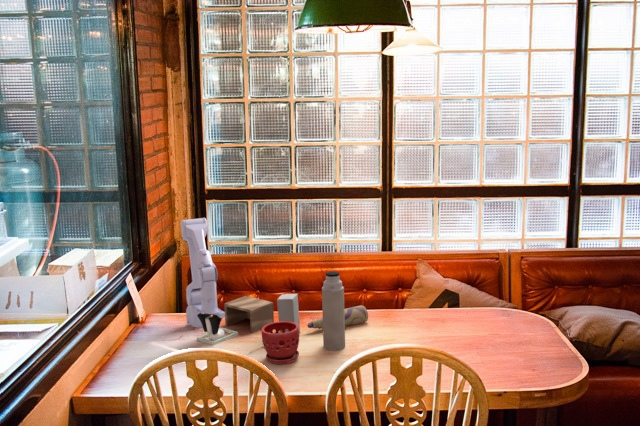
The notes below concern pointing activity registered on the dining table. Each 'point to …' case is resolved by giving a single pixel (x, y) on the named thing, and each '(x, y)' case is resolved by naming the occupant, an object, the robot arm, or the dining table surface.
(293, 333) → the plant pot
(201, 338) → the tray
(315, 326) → the decorative bottle
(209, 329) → the white rounded piece
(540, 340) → the dining table surface
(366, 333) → the dining table surface
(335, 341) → the thermos bottle
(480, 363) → the dining table surface
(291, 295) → the skincare box
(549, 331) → the dining table surface
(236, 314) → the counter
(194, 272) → the robot arm
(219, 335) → the pale pink rounded cylinder
